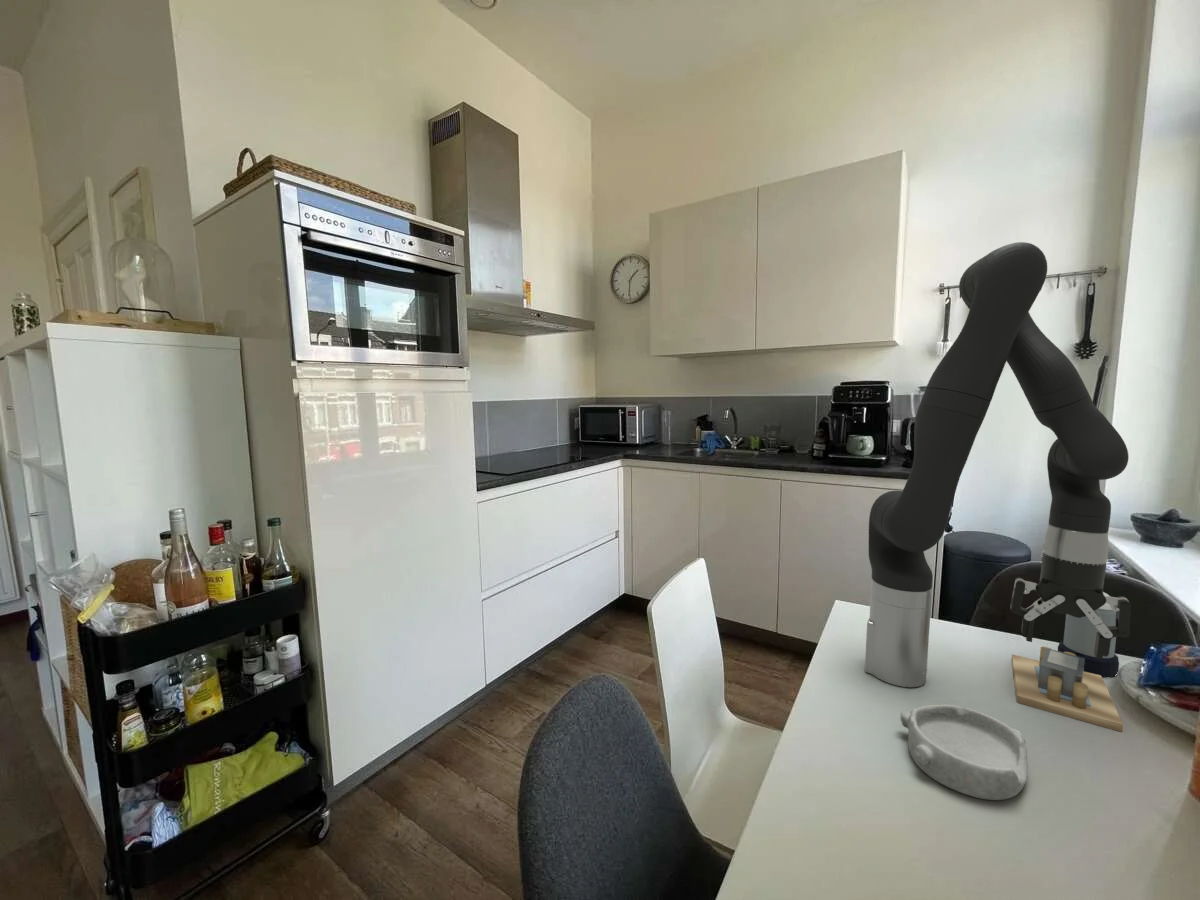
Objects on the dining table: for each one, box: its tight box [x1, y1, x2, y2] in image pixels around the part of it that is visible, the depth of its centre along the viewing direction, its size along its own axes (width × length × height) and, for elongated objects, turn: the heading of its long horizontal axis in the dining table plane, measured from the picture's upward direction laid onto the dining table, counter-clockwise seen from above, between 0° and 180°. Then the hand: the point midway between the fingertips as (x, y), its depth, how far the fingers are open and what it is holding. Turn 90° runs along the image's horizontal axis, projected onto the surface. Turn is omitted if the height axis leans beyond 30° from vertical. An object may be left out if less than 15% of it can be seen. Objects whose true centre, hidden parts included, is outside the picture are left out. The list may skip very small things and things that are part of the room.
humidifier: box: [1057, 591, 1120, 678], centre depth 90 cm, size 8×8×25 cm
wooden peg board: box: [1010, 646, 1124, 733], centre depth 83 cm, size 16×12×5 cm
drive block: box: [1038, 647, 1085, 698], centre depth 83 cm, size 5×8×4 cm, turn 133°
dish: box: [900, 703, 1029, 801], centre depth 67 cm, size 14×14×5 cm
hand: (1062, 648), depth 82 cm, fingers open, 8 cm apart
